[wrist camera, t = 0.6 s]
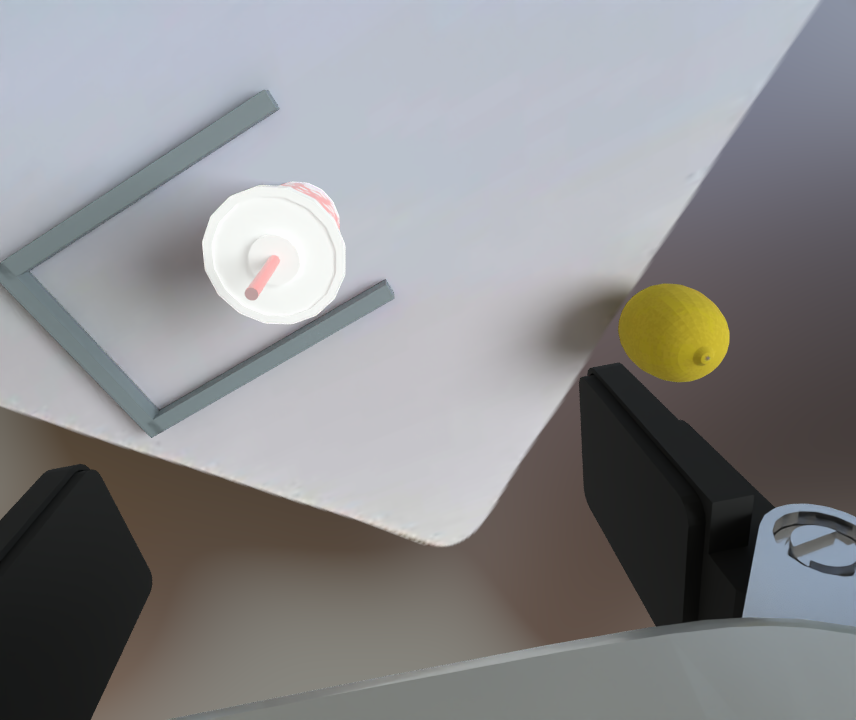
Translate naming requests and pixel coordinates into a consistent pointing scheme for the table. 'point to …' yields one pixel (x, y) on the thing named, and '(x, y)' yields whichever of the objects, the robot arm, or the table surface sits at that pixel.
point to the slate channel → (196, 148)
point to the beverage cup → (276, 252)
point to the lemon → (673, 332)
